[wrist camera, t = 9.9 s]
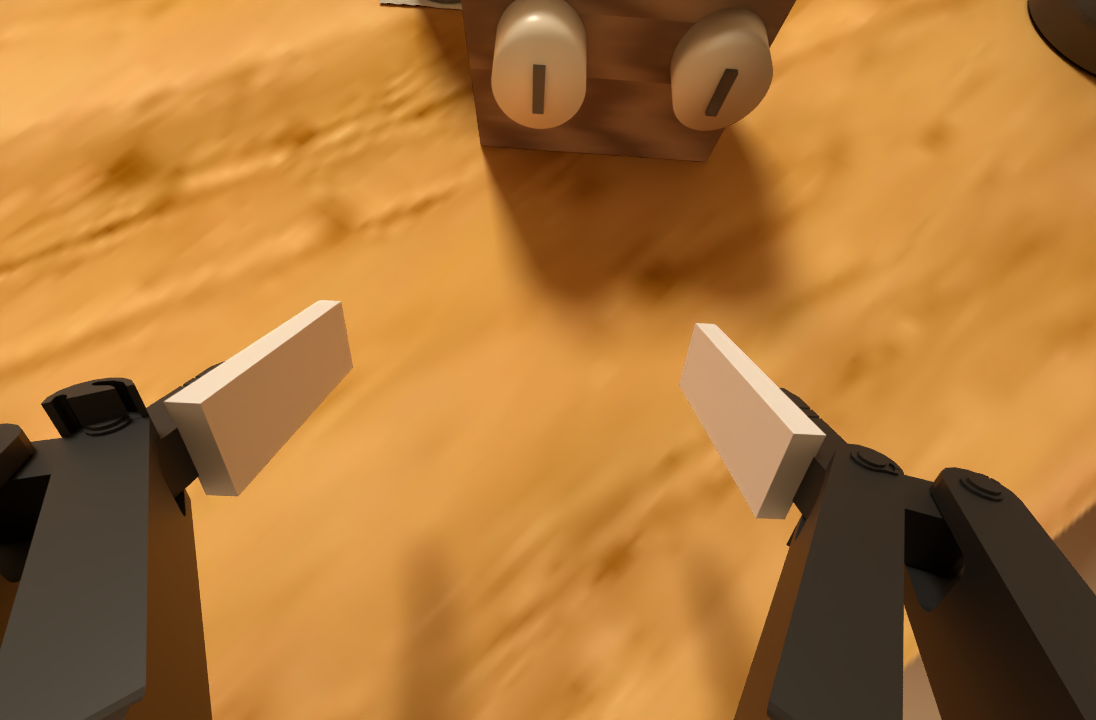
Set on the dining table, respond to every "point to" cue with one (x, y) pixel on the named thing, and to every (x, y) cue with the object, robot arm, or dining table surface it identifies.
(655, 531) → the dining table surface
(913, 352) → the dining table surface
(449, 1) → the condiment
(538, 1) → the knob
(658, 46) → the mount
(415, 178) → the dining table surface
